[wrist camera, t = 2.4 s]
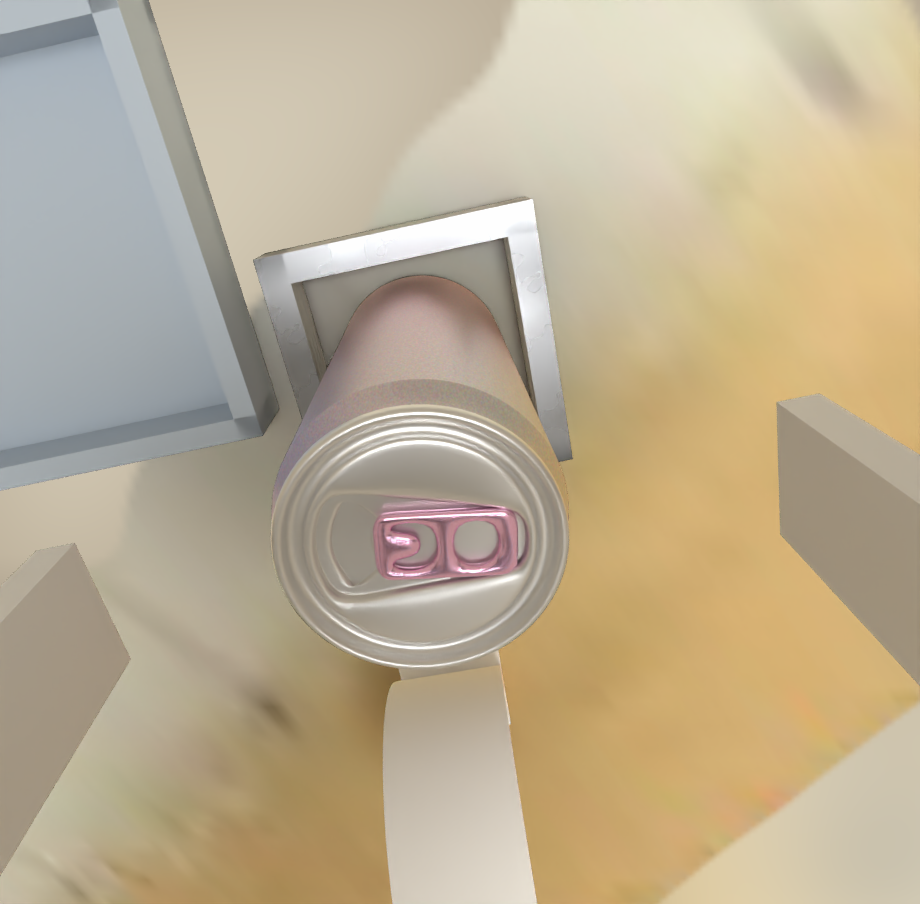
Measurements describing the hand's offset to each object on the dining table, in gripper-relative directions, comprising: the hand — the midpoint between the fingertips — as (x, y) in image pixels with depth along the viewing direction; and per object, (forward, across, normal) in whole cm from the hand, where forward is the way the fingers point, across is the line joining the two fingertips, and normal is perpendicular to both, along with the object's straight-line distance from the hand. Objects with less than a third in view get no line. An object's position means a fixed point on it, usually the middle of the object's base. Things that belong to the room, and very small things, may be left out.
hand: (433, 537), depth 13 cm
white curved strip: (+15, -2, -15) cm, 21 cm away
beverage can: (+15, 0, 0) cm, 15 cm away
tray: (+15, -14, +6) cm, 21 cm away
